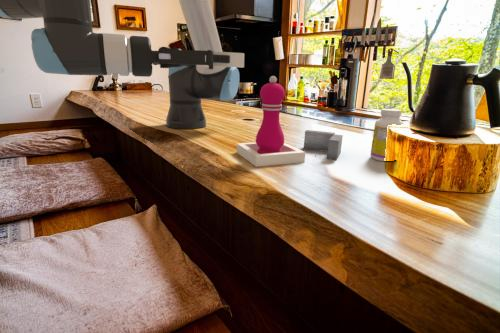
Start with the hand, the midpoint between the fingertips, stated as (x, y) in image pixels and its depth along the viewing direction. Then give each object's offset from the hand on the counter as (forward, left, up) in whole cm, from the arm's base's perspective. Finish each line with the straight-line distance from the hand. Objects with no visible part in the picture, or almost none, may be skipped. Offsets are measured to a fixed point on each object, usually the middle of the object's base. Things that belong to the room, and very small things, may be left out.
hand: (232, 61), depth 67 cm
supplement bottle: (+10, +39, -23) cm, 46 cm away
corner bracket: (0, +28, -23) cm, 36 cm away
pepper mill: (0, +10, -23) cm, 25 cm away
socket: (0, +10, -23) cm, 25 cm away
